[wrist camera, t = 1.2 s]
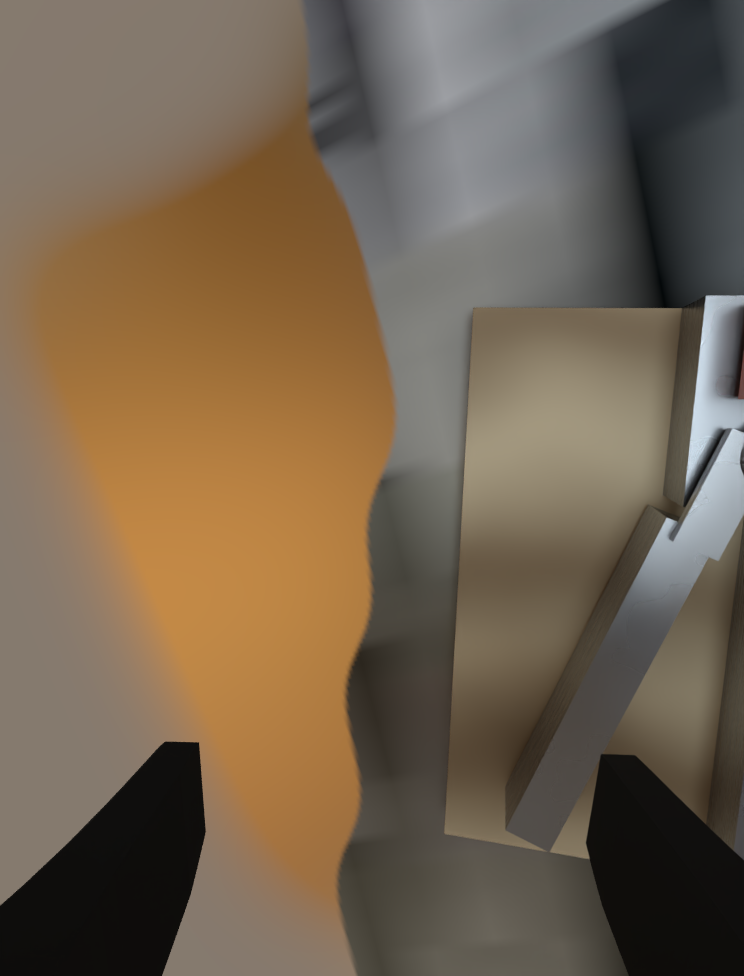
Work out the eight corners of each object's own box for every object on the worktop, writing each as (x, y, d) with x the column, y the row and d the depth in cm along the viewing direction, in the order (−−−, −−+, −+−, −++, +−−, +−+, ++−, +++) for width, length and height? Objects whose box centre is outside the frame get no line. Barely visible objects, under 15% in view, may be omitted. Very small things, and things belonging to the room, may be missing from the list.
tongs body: (760, 860, 20) (792, 916, 17) (627, 838, 20) (641, 889, 18) (837, 309, 17) (884, 295, 15) (681, 308, 18) (705, 295, 16)
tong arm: (581, 824, 20) (592, 883, 18) (505, 786, 21) (505, 839, 18) (797, 431, 17) (846, 436, 15) (703, 395, 18) (735, 394, 15)
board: (808, 872, 20) (827, 900, 19) (447, 811, 23) (444, 833, 22) (893, 314, 18) (920, 309, 17) (475, 313, 20) (473, 307, 19)
